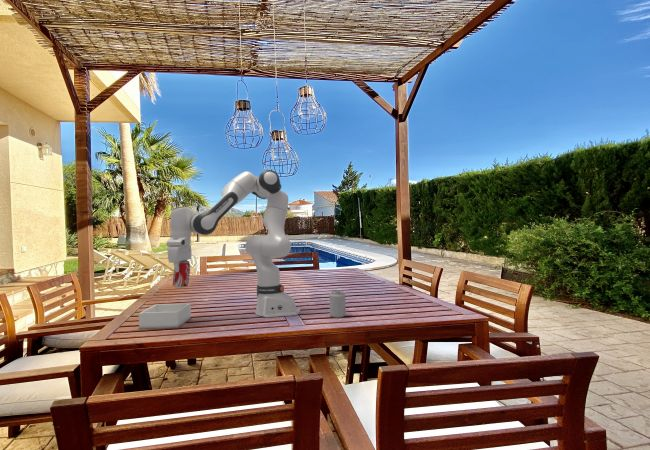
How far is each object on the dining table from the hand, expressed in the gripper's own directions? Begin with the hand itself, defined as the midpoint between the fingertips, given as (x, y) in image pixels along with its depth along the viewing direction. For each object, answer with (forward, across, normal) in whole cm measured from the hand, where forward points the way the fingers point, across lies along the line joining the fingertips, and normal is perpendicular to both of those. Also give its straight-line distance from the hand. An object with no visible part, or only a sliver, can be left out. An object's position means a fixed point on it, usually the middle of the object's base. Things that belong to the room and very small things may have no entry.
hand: (180, 270), depth 174 cm
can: (+23, -4, +73) cm, 77 cm away
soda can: (+8, -1, -1) cm, 8 cm away
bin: (+24, 0, -7) cm, 25 cm away
